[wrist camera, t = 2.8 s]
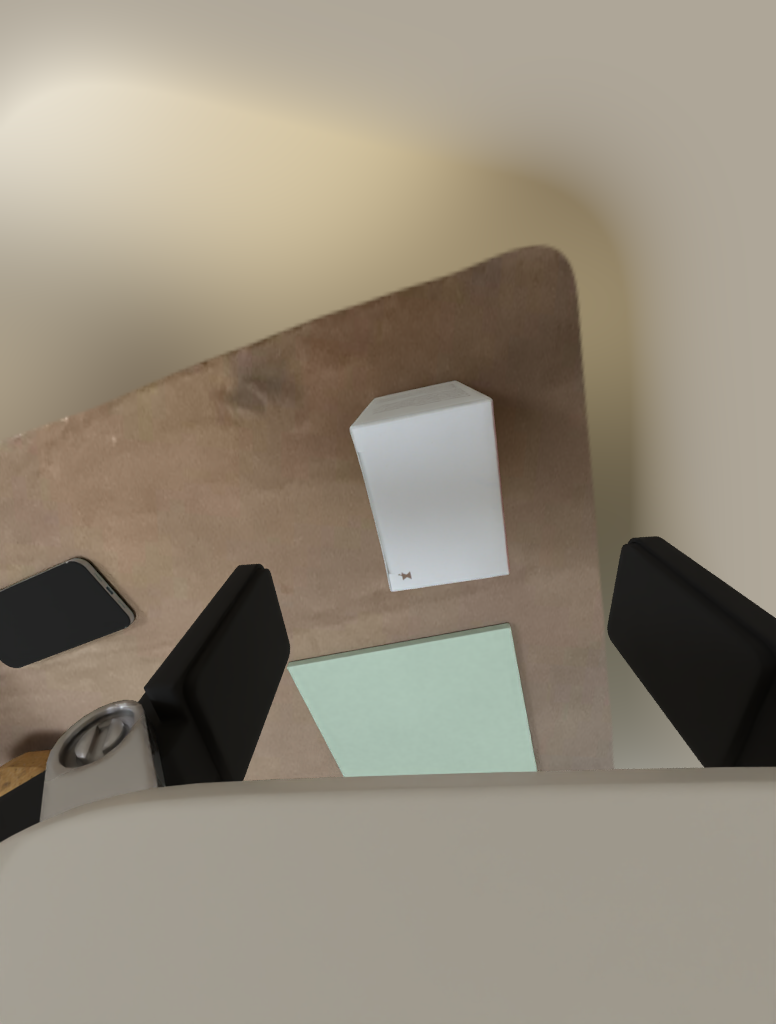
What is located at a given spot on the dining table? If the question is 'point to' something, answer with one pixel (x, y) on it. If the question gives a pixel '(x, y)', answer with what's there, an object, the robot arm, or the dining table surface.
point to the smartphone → (57, 613)
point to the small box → (434, 485)
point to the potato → (22, 769)
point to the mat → (422, 705)
